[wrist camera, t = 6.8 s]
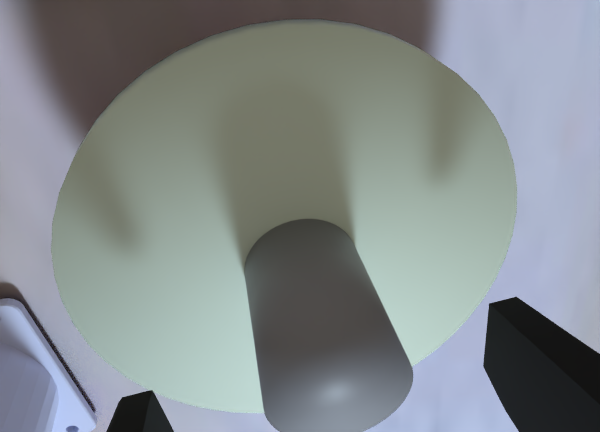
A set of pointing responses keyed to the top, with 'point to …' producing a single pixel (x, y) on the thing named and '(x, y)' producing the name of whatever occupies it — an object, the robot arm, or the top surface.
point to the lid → (285, 222)
